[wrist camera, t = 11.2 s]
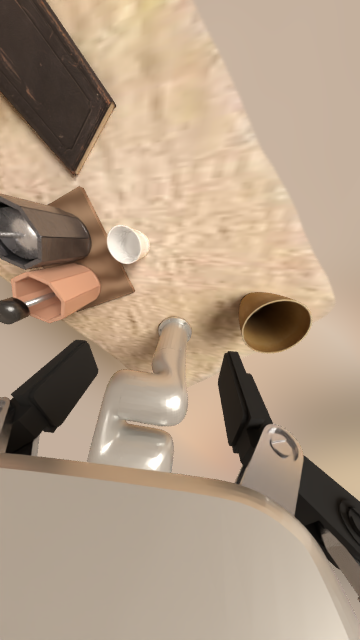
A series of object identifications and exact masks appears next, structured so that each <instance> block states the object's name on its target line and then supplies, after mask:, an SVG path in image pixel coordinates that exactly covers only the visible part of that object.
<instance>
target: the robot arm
mask: <svg viewBox="0 0 360 640" xmlns="http://www.w3.org/2000/svg"><path fill="white" fill-rule="evenodd" d="M169 319H170V320H169ZM158 332H159V336H160V339H159V342H158V344H157V347H156V350H155V353H154V356H153V359H152V370H153V373H148V372H141V371H135V370H127V369H123V370H119V371H117V372H116V373H115V374H114V375H113V376H112V377H111V379H110V381H109V383H108V385H107V388H106V391H105V394H104V397H103V401H102V405H101V409H100V412H99V416H98V420H97V424H96V428H95V432H94V436H93V439H92V443H91V447H90V451H89V455H88V460H87V462H79V461H71V460H64V459H55V458H46V457H38V456H37V453H38V444H39V435H40V433H41V432H42V431H44V432H51V433H54V431H55V430H56V428H57V427H59V426H60V425H61V424H62V423H63V422H64V420H65V419H66V418H67V416H68V414H69V413H70V412H71V410H72V409H73V408H74V406H75V405H76V404H77V402H78V401H79V399H80V398H81V396H82V395H83V394H84V392H85V391H86V390H87V388H88V387H89V385H90V384H91V382H92V381H93V380H94V378H95V377H96V376H97V374H98V368H97V365H96V362H95V360H94V357H93V354H92V351H91V349H90V346H89V344H88V343H87V341H84V340H75V341H74V342H73V343H71V344H70V345H69V346H68V347H66V348H65V349H64V350H63V351H62V352H61V353H59V354H58V355H57V356H56V357H55V358H53V359H52V360H51V361H50V362H49V363H47V364H46V365H45V366H44V367H43V368H41V369H40V370H39V371H38V372H37V373H36V374H34V375H33V376H32V377H31V378H30V379H28V380H27V381H26V382H25V383H24V384H23V385H21V386H20V387H19V388H18V389H17V390H15V391H14V392H13V393H12V394H11V395H12V396H13V397H14V398H12V399H11V400H9V398H7V397H0V640H360V623H359V621H358V619H357V616H356V614H355V612H354V610H353V608H352V606H351V604H350V602H349V600H348V598H347V596H346V594H345V592H344V590H343V588H342V586H341V584H340V582H339V580H338V578H337V576H336V574H335V572H334V570H333V568H332V567H331V565H330V563H329V561H330V562H331V563H332V564H333V565H334V566H335V567H336V568H338V569H340V570H341V571H342V573H343V574H344V575H345V577H346V578H347V580H348V581H349V583H350V584H351V586H352V587H353V588H354V590H355V591H356V593H357V594H358V596H359V597H358V600H359V602H360V501H358V500H357V499H356V498H355V497H354V496H352V495H351V494H350V493H349V492H348V491H346V490H345V489H344V488H342V487H341V486H340V485H339V484H338V483H337V482H335V481H334V480H333V479H332V478H331V477H329V476H328V475H327V474H325V472H323V471H322V470H321V469H320V468H318V467H317V466H316V465H315V464H314V463H313V462H311V461H310V460H309V459H308V458H307V457H305V456H304V455H303V451H302V449H301V446H300V445H299V443H298V441H297V439H296V438H295V437H294V436H293V435H292V434H291V433H290V432H289V431H288V430H286V429H285V428H283V427H282V426H279V425H276V424H273V423H272V420H271V418H270V416H269V414H268V411H267V409H266V407H265V404H264V402H263V400H262V397H261V395H260V393H259V391H258V389H257V386H256V384H255V382H254V379H253V377H252V375H251V374H248V373H246V371H245V369H244V366H243V364H242V361H241V359H240V356H239V354H238V352H233V351H228V352H227V353H225V354H224V358H223V362H222V366H221V371H220V375H219V379H218V386H219V393H220V398H221V404H222V409H223V415H224V421H225V427H226V432H227V438H228V443H229V446H232V448H233V452H234V453H239V457H240V461H241V463H242V467H241V469H240V472H239V474H238V476H237V478H236V481H235V483H231V482H226V481H222V480H216V479H210V478H203V477H197V476H190V475H183V474H176V473H171V471H172V463H173V451H174V446H173V440H172V437H171V435H170V434H169V433H167V432H165V431H163V430H160V429H156V428H151V427H145V426H139V425H133V424H128V423H127V422H126V420H128V421H134V422H140V423H144V424H151V425H157V426H174V425H177V424H179V423H180V422H181V421H182V420H183V419H184V417H185V415H186V412H187V407H188V394H187V387H186V376H185V370H186V350H187V342H188V341H189V339H190V338H191V334H192V330H191V327H190V325H189V323H188V322H187V321H185V320H184V319H182V318H179V317H169V318H167V319H165V320H163V321H162V322H161V324H160V326H159V329H158ZM328 560H329V561H328Z"/></svg>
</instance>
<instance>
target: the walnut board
mask: <svg viewBox="0 0 360 640" xmlns="http://www.w3.org/2000/svg"><path fill="white" fill-rule="evenodd" d="M48 206H52V207H56V208H60V209H61V210H63V211H65V212H69V213H71V214H73V215H75V216H77V217H78V218H79V219H80V220H81V221H82V222H83V223H84V224H85V226H86V227H87V229H88V231H89V233H90V236H91V241H92V246H91V251H90V253H89V254H88V256H86V257H85V258H83V259H79V260H76V261H74V262H68V263H62V264H56V265H50V266H44V269H45V268H51V267H56V266H62V265H67V264H73V263H75V264H81V265H84V266H86V267H88V268H90V269H91V270H92V271H93V272H94V273H95V274H96V275H97V277H98V278H99V280H100V283H101V293H100V295H99V296H98V297H97V299H95V300H94V301H92V302H90V303H89V304H87V305H85V306H84V307H82V308H80V309H79V310H77V312H78V311H81V310H84V309H86V308H89V307H92V306H95V305H98V304H101V303H104V302H107V301H110V300H113V299H116V298H119V297H122V296H124V295H127V294H130V293H133V292H135V290H134V288H133V286H132V284H131V282H130V280H129V278H128V276H127V274H126V272H125V270H124V268H123V266H122V264H121V262H119V261H117V260H116V259H115V258H114V257H113V256H112V255H111V253H110V251H109V249H108V246H107V234H106V232H105V230H104V228H103V226H102V224H101V222H100V220H99V218H98V216H97V214H96V212H95V210H94V208H93V206H92V204H91V202H90V200H89V198H88V196H87V194H86V192H85V190H84V188H82V187H80V186H79V187H77V188H76V189H74V190H72V191H71V192H69V193H67V194H65V195H64V196H62V197H60V198H59V199H57V200H55V201H54V202H52V203H50V204H49V205H48Z"/></svg>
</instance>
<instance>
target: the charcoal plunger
mask: <svg viewBox="0 0 360 640" xmlns="http://www.w3.org/2000/svg"><path fill="white" fill-rule="evenodd" d="M0 239H1V240H2V242H3V243H4V244H5V245H6V247H7V248H8V249H10V250H11V251H12V252H13V253H15V254H16V255H18V256H20V257H22V258H25V259H37V258H38V252H37V236H36V234H35V233H34V232H33V230H32V229H31V227H30V226H29V224H28V223H27V222H26V220H25V219H24V217H23V216H22V214H21V213H20V212H19V210H17V209H15V208H10V207H2V208H0Z"/></svg>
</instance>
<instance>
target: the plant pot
mask: <svg viewBox="0 0 360 640" xmlns="http://www.w3.org/2000/svg"><path fill="white" fill-rule="evenodd" d="M239 324H240V330H241V334H242V338H243V341H244V343H245V344H246V345H247V346H248V347H249V348H250V349H252V350H254V351H256V352H260V353H277V352H282V351H284V350H287V349H289V348H291V347H293V346H295V345H296V344H298V343H299V342H300V341H301V340H303V339H304V337H305V336H306V335H307V334H308V332H309V330H310V328H311V325H312V314H311V312H310V310H309V309H308V308H307V307H306V306H305V305H304V304H302V303H301V302H298V301H296V300H293V299H290V298H287V297H284V296H280V295H276V294H271V293H263V292H255V293H250V294H247V295H246V296H245V297H244V298H243V299H242V300H241V303H240V307H239Z"/></svg>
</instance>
